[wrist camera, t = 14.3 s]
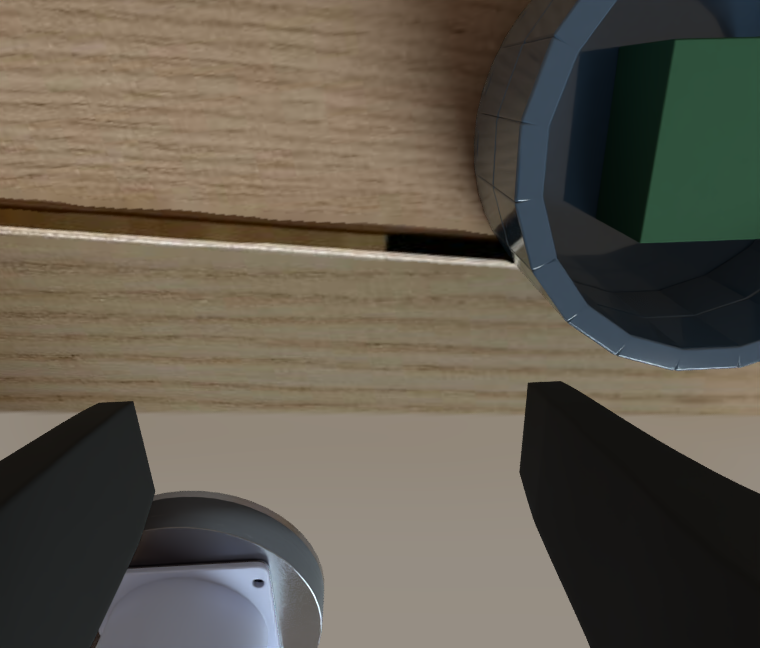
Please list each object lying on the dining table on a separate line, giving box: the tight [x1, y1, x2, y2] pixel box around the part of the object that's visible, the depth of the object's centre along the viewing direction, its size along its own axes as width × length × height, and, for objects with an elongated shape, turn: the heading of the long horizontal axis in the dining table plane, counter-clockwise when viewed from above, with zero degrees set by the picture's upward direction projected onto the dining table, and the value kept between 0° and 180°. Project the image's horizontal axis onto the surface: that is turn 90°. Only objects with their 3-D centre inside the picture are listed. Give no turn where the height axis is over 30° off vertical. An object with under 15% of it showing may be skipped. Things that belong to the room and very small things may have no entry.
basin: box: [474, 0, 760, 371], centre depth 15 cm, size 11×11×5 cm
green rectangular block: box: [596, 37, 760, 243], centre depth 15 cm, size 5×4×3 cm
